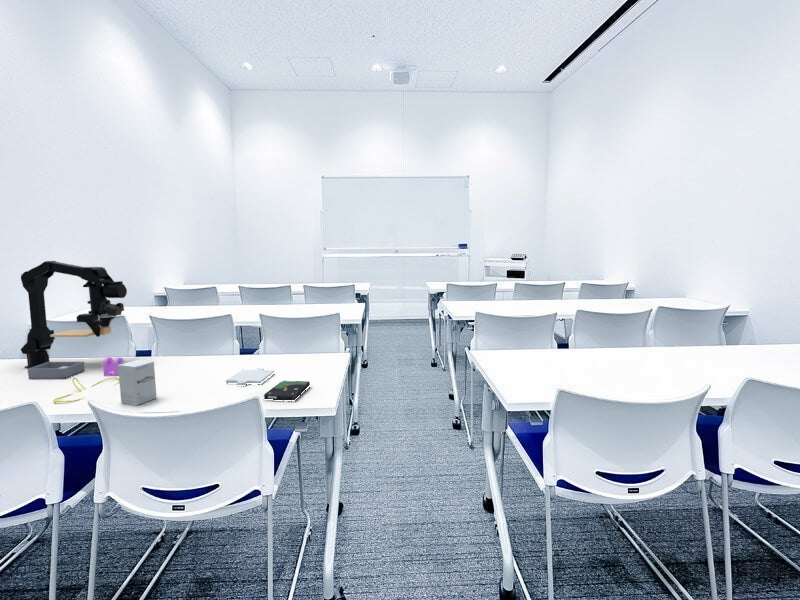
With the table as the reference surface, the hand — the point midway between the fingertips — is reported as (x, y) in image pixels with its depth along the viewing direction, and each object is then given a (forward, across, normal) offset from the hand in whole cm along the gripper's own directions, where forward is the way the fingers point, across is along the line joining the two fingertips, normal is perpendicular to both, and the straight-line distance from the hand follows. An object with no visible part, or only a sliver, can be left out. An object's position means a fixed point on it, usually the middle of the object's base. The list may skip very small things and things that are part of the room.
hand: (101, 335), depth 179 cm
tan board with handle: (-1, 0, +7) cm, 7 cm away
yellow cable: (+14, -30, -15) cm, 37 cm away
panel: (+13, -13, +10) cm, 21 cm away
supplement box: (+13, -40, -39) cm, 57 cm away
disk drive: (+14, -34, -85) cm, 93 cm away
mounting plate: (+14, -18, -67) cm, 71 cm away
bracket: (+13, -8, -12) cm, 20 cm away
